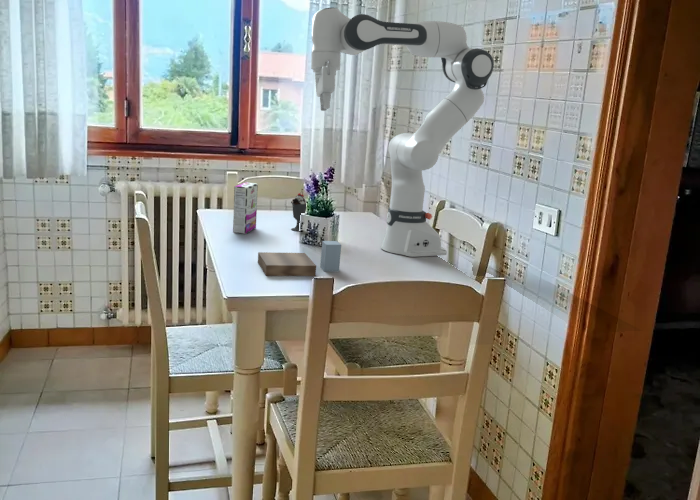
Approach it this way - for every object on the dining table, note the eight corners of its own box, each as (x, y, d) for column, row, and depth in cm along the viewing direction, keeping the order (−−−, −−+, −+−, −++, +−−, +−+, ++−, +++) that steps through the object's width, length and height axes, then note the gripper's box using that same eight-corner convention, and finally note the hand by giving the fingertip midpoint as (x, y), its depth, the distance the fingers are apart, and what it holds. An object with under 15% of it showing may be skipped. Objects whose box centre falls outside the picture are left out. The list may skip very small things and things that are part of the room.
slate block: (334, 267, 197) (337, 241, 196) (338, 271, 193) (341, 244, 191) (320, 267, 196) (322, 240, 194) (324, 271, 192) (326, 244, 190)
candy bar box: (243, 226, 240) (245, 181, 236) (256, 228, 239) (258, 183, 236) (231, 232, 230) (233, 185, 226) (245, 234, 229) (247, 187, 225)
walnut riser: (304, 262, 199) (304, 252, 199) (315, 275, 186) (316, 265, 186) (257, 262, 195) (258, 252, 194) (265, 275, 182) (266, 265, 181)
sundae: (303, 227, 248) (306, 188, 244) (309, 232, 242) (312, 191, 238) (286, 227, 245) (289, 187, 242) (291, 231, 239) (294, 190, 236)
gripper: (340, 58, 193) (339, 107, 195) (332, 68, 213) (331, 112, 215) (318, 58, 192) (317, 106, 194) (312, 67, 212) (312, 111, 214)
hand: (325, 109), depth 205 cm, fingers open, 8 cm apart
